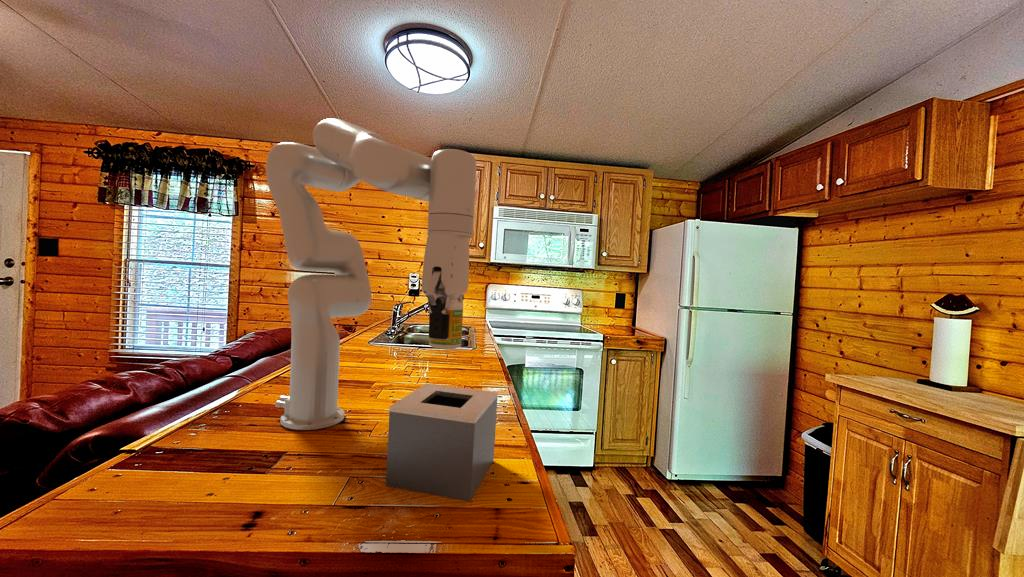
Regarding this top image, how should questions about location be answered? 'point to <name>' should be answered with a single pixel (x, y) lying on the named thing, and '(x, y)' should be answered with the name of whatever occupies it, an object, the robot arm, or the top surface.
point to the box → (441, 440)
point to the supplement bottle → (451, 325)
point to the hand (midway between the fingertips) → (445, 334)
